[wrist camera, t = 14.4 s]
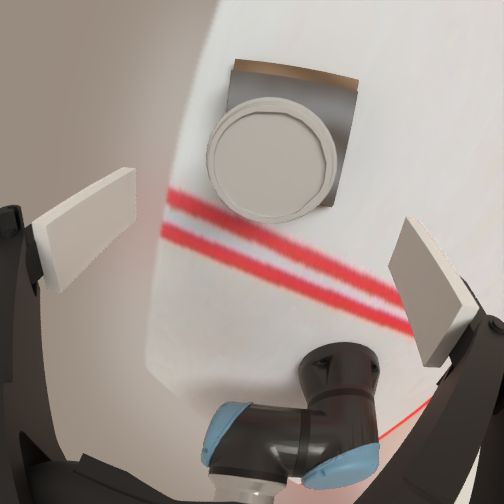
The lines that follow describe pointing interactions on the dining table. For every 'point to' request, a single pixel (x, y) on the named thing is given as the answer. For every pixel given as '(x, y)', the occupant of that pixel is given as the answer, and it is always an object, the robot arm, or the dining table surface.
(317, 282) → the dining table surface
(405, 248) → the robot arm
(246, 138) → the disposable coffee cup
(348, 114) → the grey block on wood
